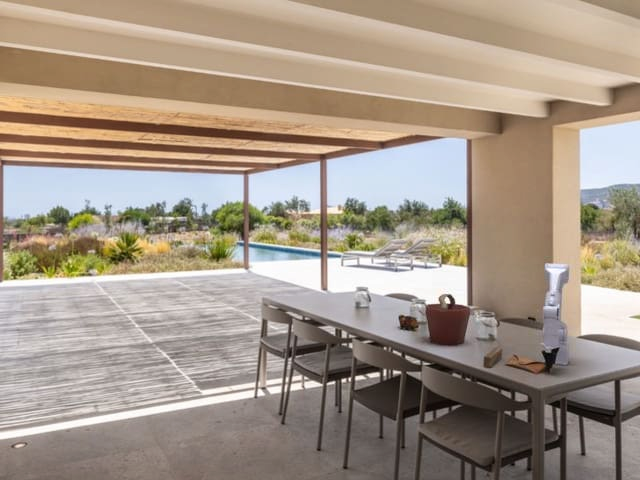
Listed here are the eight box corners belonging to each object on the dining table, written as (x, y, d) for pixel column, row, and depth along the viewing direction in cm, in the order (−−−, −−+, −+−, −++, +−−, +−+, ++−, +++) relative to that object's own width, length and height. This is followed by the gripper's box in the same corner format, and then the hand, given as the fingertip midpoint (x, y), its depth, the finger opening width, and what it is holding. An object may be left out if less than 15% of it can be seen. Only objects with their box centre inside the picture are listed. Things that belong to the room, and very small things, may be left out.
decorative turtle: (402, 326, 311) (404, 313, 311) (423, 331, 300) (424, 318, 299) (392, 327, 305) (393, 313, 304) (412, 333, 293) (413, 319, 293)
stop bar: (501, 357, 238) (501, 348, 238) (490, 368, 221) (490, 357, 221) (495, 356, 239) (495, 347, 239) (483, 367, 223) (483, 356, 222)
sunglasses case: (501, 364, 226) (506, 350, 228) (509, 370, 230) (514, 356, 231) (538, 374, 211) (543, 359, 213) (546, 380, 215) (551, 366, 216)
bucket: (453, 349, 253) (453, 299, 252) (414, 342, 268) (414, 294, 267) (475, 341, 271) (476, 294, 270) (438, 335, 286) (438, 290, 285)
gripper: (543, 329, 225) (543, 360, 226) (537, 336, 213) (537, 368, 213) (561, 331, 222) (560, 363, 222) (556, 338, 209) (555, 371, 210)
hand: (550, 366), depth 217 cm, fingers open, 7 cm apart
